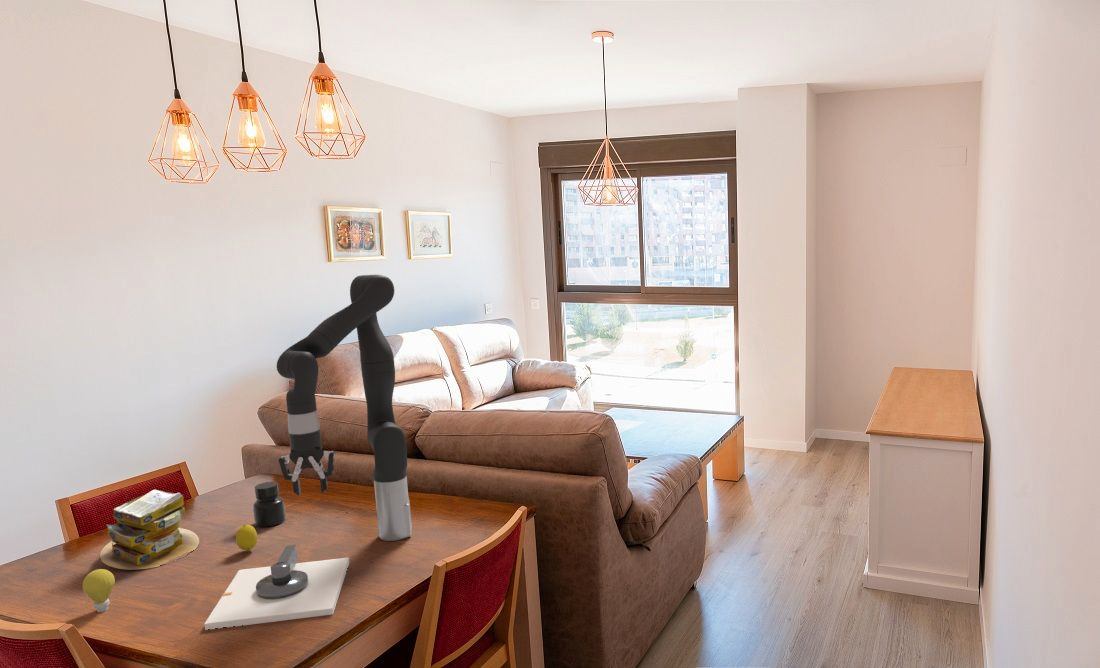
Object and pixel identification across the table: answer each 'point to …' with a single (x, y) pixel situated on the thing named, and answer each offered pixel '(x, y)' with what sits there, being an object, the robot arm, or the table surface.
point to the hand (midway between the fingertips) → (311, 492)
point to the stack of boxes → (148, 532)
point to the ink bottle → (268, 505)
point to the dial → (283, 577)
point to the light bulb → (99, 587)
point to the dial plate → (312, 601)
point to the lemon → (246, 537)
